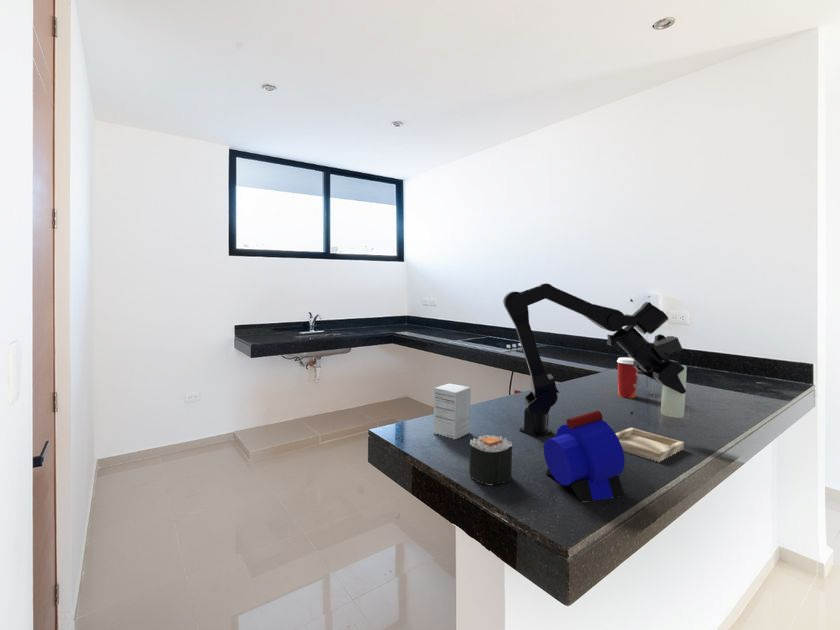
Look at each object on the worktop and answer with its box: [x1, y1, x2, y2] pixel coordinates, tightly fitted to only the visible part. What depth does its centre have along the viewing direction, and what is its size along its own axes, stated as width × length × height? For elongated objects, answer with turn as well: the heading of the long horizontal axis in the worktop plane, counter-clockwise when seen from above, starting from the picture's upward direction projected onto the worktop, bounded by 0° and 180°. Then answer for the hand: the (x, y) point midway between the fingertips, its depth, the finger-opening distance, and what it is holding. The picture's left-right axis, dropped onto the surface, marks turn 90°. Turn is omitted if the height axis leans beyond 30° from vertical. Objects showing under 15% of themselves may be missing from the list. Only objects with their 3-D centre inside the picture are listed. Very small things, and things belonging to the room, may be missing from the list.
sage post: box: [660, 364, 688, 419], centre depth 109 cm, size 5×5×13 cm
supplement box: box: [433, 383, 472, 440], centre depth 111 cm, size 7×7×13 cm
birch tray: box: [615, 427, 685, 463], centre depth 104 cm, size 13×13×2 cm
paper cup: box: [616, 356, 639, 399], centre depth 154 cm, size 8×8×14 cm
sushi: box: [468, 434, 513, 485], centre depth 86 cm, size 8×8×8 cm
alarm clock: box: [543, 410, 626, 502], centre depth 83 cm, size 12×12×15 cm
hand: (679, 390), depth 108 cm, fingers closed on sage post, 5 cm apart
